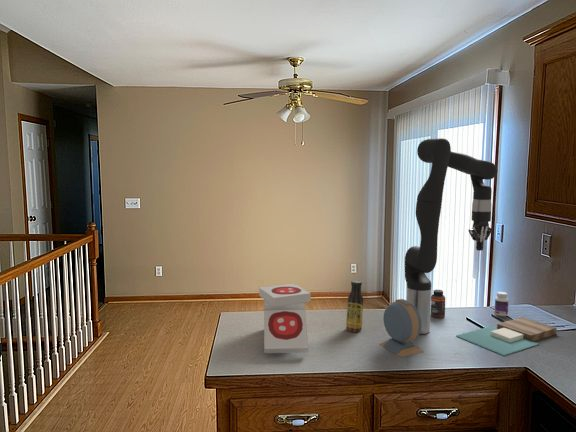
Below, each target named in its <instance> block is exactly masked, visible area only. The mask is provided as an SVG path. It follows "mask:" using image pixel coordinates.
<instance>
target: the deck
mask: <svg viewBox="0 0 576 432" xmlns="http://www.w3.org/2000/svg"><path fill="white" fill-rule="evenodd" d="M501 328H507V329H509V330H512V331H515V332H518V333H521V334H524V336H523V338H524V339H527V340H530V341H533V342H536V341H538V340H541V339H545V338H548V337H552V336H555V335H556V334H557V327H555V326H552V325H549V324H545V323H542V322H539V321H535V320H532V319H530V318H526V317H522V316H521V317H517V318H514V319H509V320H506V321H502V322H499V323H497V326H496V329H501Z"/></svg>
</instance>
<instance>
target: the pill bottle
mask: <svg viewBox="0 0 576 432" xmlns="http://www.w3.org/2000/svg"><path fill="white" fill-rule="evenodd" d="M509 303H510V301H509V298H508V293H507V292H505V291H497V292H496V297H494V307H493V308H494V311H493V313H494V315H496V316H498V317H507V316H509Z"/></svg>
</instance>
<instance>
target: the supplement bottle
mask: <svg viewBox="0 0 576 432" xmlns="http://www.w3.org/2000/svg"><path fill="white" fill-rule="evenodd" d="M432 293H433V294H431V307H430V317H431V316H432V317H433V318H437V319H440V318H441V319H442V318H444V317H446V296H445V295H444V290H442V289H433V292H432Z"/></svg>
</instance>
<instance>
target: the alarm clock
mask: <svg viewBox="0 0 576 432" xmlns="http://www.w3.org/2000/svg"><path fill="white" fill-rule="evenodd" d="M385 308H386V309H384V312H383V326H384V329H385V331H386V332H387V334H388V335H389V336H390V338H389V339H388V340H386V341H383V342H380V343H379V345H380V346H381V345H382V346H381V347H383V348H385V349H387V350H388V349H389V351H390V350H391V351H390V352H391V353H394V354H395V353H396V355H397V356H399V357H401V358H405V357H409V356H412V355H413V354H414V355H418V354H422V353H424V352H425V351H424V350H423V349H421V348H420V347H419V346H417V345H415V344H414V343H413V342H412V341H414V340H415V339H416V338H417V337H418V336H419V335H420V334H419V333H420V331H421V326H422V322H421V317H420V314H419V312H418V310H417V309H416V308H415V307H414V306H413V305H412V304H410V303H409V302H408V301H406V299H403V298H398V299H395V300H394V301H393V302H392V303H390V304H389V305H388V306H387V307H385ZM421 352H422V353H421Z"/></svg>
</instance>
